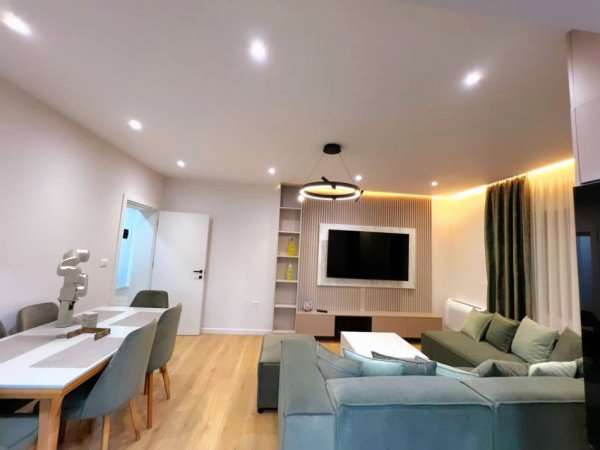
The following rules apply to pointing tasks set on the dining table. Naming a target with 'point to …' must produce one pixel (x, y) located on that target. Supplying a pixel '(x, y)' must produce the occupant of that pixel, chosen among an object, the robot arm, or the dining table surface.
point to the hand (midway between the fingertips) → (66, 309)
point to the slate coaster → (61, 336)
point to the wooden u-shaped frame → (99, 332)
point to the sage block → (65, 307)
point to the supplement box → (89, 319)
